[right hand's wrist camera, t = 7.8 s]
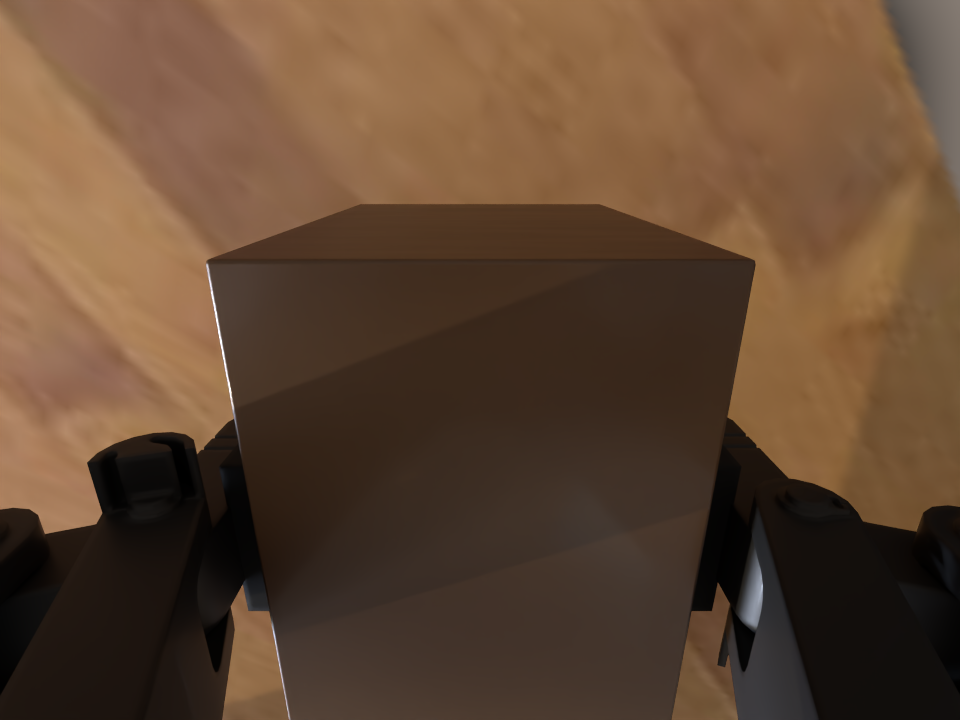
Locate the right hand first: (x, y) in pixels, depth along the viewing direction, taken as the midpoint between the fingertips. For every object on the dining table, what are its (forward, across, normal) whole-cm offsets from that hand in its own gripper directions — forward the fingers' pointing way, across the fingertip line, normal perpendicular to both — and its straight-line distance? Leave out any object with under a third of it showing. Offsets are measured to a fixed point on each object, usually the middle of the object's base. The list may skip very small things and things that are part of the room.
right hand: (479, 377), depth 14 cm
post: (0, 0, -28) cm, 28 cm away
